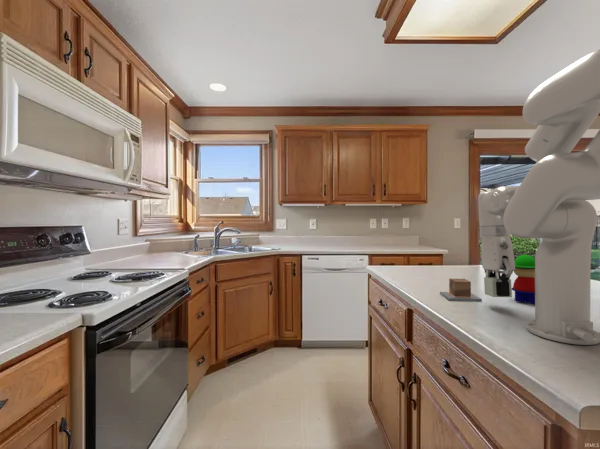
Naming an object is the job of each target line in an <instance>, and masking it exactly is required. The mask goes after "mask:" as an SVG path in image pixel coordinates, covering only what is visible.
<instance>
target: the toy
mask: <svg viewBox="0 0 600 449" xmlns="http://www.w3.org/2000/svg"><path fill="white" fill-rule="evenodd" d="M514 261H515V270H514V271H513V273H514V274H515V275H516V278H515V280H514V282H513V285H512V287H511V288H512V291H514V301H515V302H517V303H526V304H531V305H535V256H534V257H533V256H532V255H529V254H521V255H518V256H517V257H516V258H514Z"/></svg>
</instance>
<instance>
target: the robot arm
mask: <svg viewBox="0 0 600 449" xmlns="http://www.w3.org/2000/svg"><path fill="white" fill-rule="evenodd" d="M599 115H600V49H598V50H595V51H592V52H590V53H588V54H587V55H585V56H583V57H581V58H580V59H578V60H576V61H575V62H574V63H573V62H572V64H570V65H568V66H567V67H565V68H563V69H562V70H560V71H558V72H557V73H556V74H554V75H553V76H551V77H550V78H548V79H546V80H545V81H544V82H542V83H541V84H539V85H538V86H537V87H536V88H535V89H534V90H533V91H532V92H531V93H529V96H528V97H527V98H526V100H525V102H524V104H523V107H522V118H523V120H524V122H526V123H527V124H529V125H531V126H537V127H536V129H535V131H534V132H533V134H532V135H531V137H530V138H529V140H528V141H527V144H526V145H525V147H524V153H525V154H526V156H527V157H528V158H529V159H531V160H532V161H534V162H536V163H534V165H533V166H532V167H531V168H530V169H529V171H528V172H527V174H526V175H525V176H524V178H523V180H522V182H521V183H520V184H519V185H505V186H504V185H501V186H498V187H495V188H494V189H492V190H488V191H484V192H481V193H479V195H478V199H477V200H478V202H477V203H478V219H479V222H478V223H479V238H481V248H480V250H481V252H480V253H481V266H482V269H483V270H484V273H485V277H497V281H498V282H496V292H497V296H510V291H509V282H510V279H511V276H512V275H513V273H514V270H515V254H514V248H513V247H514V246H513V242H512V239H511V235H512V236H513V237H516V238H518V239H519V238H520V239H541V240H540V241H541V242H540V243H539V244H538V247H537V249H536V252H535V256H534V258H535V304H534V320H531V321H528V322H527V323H526V329H527V331H529V332H530V333H532V334H534V335H535V336H538V337H541V338H545V339H546V340H551V341H555V342H559V343H564V344H570V345H577V346H582V345H583V346H592V345H597V344H600V332H598V331H597V330H594V321H591V263H592V257H591V255H592V246H593V240H594V236H595V232H596V228H597V222H598V214H597V210H596V208H595V207H594V205H593V204H591V203H590V202H589V201H594V200H600V129H599V130H598V131H597V133H596V134H595V135H594V137H593V139H592V140H590V142H589V143H588V144H587V145H586V146H585V147H584V149H582V150H581V151H577V152H572V151H573V150H574V148H575V147H576V145H577V144H578V143H579V142H580V140H581V139H582V137H584V135H585V133H586V132H587V131H588V130H589V128H590V127H591V125H592V124H593V123H594V121H595V120H596V119H597V117H598V116H599Z"/></svg>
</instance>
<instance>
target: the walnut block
mask: <svg viewBox="0 0 600 449" xmlns="http://www.w3.org/2000/svg"><path fill="white" fill-rule="evenodd" d="M448 281H449V284H448V286H449V287H448V288H449V289H448V290H449V291H448V292H449V293H450V294H452V295H453V296H460V297H471V293H472V290H471V289H472V283H471V281H470V280H468V279H466V278H451V277H450V278H449V280H448Z"/></svg>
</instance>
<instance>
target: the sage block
mask: <svg viewBox="0 0 600 449" xmlns="http://www.w3.org/2000/svg"><path fill="white" fill-rule="evenodd" d="M496 282H498V281H497V277H486V276H485V277H483V283H484V284H483V287H484V295H487V296H489V297H492V298H512V297H513V292H512V291H513V290H512V288H513V287H512V279H511V278H510V282H509V291H510V296H497V292H496Z"/></svg>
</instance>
